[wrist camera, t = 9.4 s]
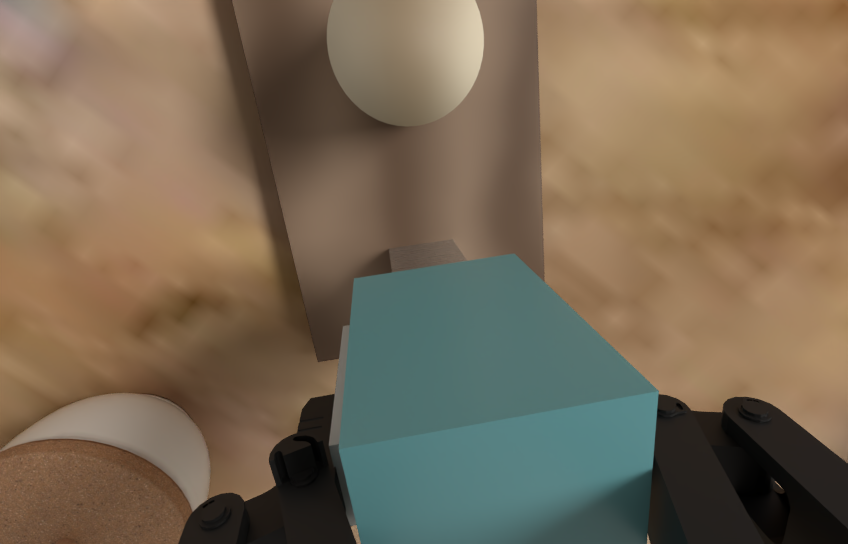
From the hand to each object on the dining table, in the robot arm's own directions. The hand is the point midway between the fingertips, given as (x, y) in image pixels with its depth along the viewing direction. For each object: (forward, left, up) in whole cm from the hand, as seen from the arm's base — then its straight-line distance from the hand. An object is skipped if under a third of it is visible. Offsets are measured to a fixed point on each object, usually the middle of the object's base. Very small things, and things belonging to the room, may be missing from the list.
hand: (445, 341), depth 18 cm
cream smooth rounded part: (0, -11, -10) cm, 15 cm away
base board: (0, -5, -10) cm, 11 cm away
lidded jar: (+19, +9, -10) cm, 23 cm away
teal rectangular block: (0, 0, 0) cm, 0 cm away
